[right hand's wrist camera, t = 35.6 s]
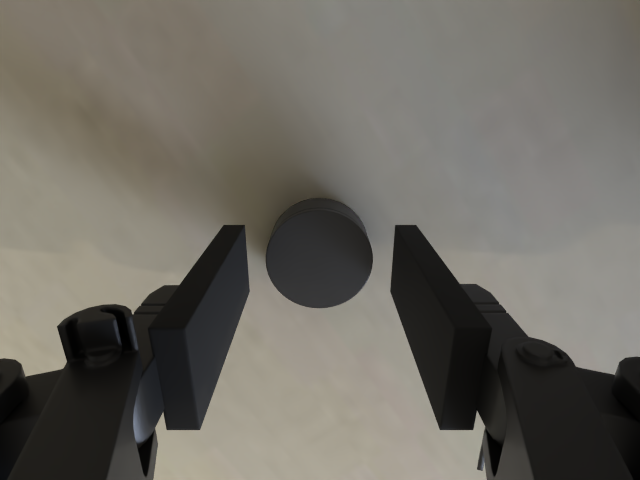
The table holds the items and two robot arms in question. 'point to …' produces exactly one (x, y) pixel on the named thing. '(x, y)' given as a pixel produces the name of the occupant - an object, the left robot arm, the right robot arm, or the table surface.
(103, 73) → the table surface
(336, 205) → the cap
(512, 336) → the right robot arm
